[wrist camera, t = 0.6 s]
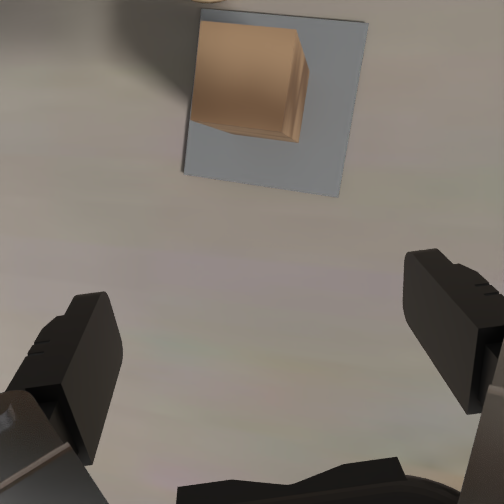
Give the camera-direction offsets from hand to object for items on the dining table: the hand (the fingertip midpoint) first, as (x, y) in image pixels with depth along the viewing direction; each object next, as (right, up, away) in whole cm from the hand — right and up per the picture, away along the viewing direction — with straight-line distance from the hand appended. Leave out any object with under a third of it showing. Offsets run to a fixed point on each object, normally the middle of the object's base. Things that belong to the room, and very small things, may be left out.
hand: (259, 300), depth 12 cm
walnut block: (+1, +12, +21) cm, 24 cm away
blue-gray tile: (+1, +12, +21) cm, 25 cm away
